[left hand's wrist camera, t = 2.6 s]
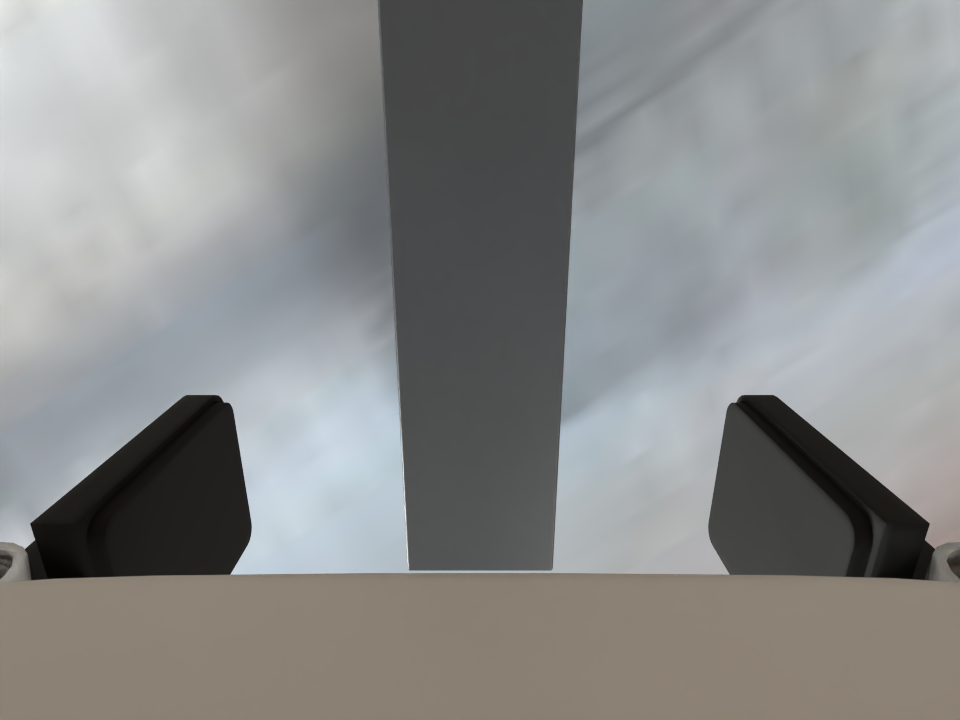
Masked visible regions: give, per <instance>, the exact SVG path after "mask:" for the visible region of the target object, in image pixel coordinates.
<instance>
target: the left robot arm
mask: <svg viewBox="0 0 960 720" xmlns="http://www.w3.org/2000/svg"><path fill="white" fill-rule="evenodd" d="M30 525H31V528H32V531H33V534H34V537H35V541H34V542H33V543H31V544H30V545H29V546H28V547H27V548H26V549H24V548H23V547H22V546H19V545H17V544H14V543H6V542H0V720H960V542H954V543H946V544H943V545H941V546H938V547H937V548H936V549H934V548H933V547H932V546H931V545H930V544H929V543H927V542H926V541H925V537H926V534H927V531H928V528H929V525H930V524H929V523H928V522H927V521H926V520H925V519H923V518H922V517H921V516H920V515H919V514H917V513H916V512H915V511H914V510H913V509H911V508H910V507H909V506H908V505H907V504H905V503H904V502H903V501H902V500H901V499H899V498H898V497H897V496H896V495H894V494H893V493H892V492H891V491H890V490H888V489H887V488H886V487H885V486H884V485H882V484H881V483H880V482H879V481H878V480H876V479H875V478H874V477H873V476H872V475H870V474H869V473H868V472H867V471H866V470H864V469H863V468H862V467H861V466H860V465H858V464H857V463H856V462H855V461H853V460H852V459H851V458H850V457H849V456H847V455H846V454H845V453H844V452H843V451H841V450H840V449H839V448H838V447H837V446H835V445H834V444H833V443H832V442H831V441H829V440H828V439H827V438H826V437H825V436H823V435H822V434H821V433H820V432H819V431H817V430H816V429H815V428H814V427H812V426H811V425H810V424H809V423H808V422H806V421H805V420H804V419H803V418H802V417H800V416H799V415H798V414H797V413H796V412H794V411H793V410H792V409H791V408H790V407H788V406H787V405H786V404H785V403H784V402H782V401H781V400H780V399H779V398H778V397H776V396H774V395H742V396H741V397H739V399H738V400H737V402H736V403H731V404H730V405H729V406H728V409H727V413H726V419H725V425H724V431H723V437H722V444H721V450H720V456H719V462H718V468H717V475H716V481H715V487H714V493H713V499H712V505H711V512H710V518H709V526H708V529H709V537H710V540H711V543H712V545H713V547H714V548H715V550H716V552H717V554H718V555H719V557H720V559H721V560H722V562H723V564H724V565H725V567H726V569H727V571H728V572H729V574H730V575H702V574H587V573H349V574H258V575H230V574H231V572H232V571H233V569H234V567H235V565H236V564H237V562H238V560H239V559H240V557H241V555H242V554H243V552H244V550H245V548H246V547H247V545H248V543H249V540H250V537H251V529H252V526H251V518H250V512H249V505H248V499H247V493H246V487H245V481H244V475H243V468H242V462H241V456H240V450H239V444H238V437H237V431H236V425H235V419H234V413H233V409H232V406H231V405H230V404H229V403H224V402H223V400H222V399H221V397H219V396H218V395H186V396H184V397H182V398H181V399H180V400H179V401H178V402H176V403H175V404H174V405H173V406H172V407H170V408H169V409H168V410H167V411H166V412H164V413H163V414H162V415H161V416H160V417H158V418H157V419H156V420H155V421H154V422H152V423H151V424H150V425H149V426H148V427H146V428H145V429H144V430H143V431H141V432H140V433H139V434H138V435H137V436H135V437H134V438H133V439H132V440H131V441H129V442H128V443H127V444H126V445H125V446H123V447H122V448H121V449H120V450H119V451H117V452H116V453H115V454H114V455H113V456H111V457H110V458H109V459H108V460H107V461H105V462H104V463H103V464H102V465H100V466H99V467H98V468H97V469H96V470H94V471H93V472H92V473H91V474H90V475H88V476H87V477H86V478H85V479H84V480H82V481H81V482H80V483H79V484H78V485H76V486H75V487H74V488H73V489H72V490H70V491H69V492H68V493H67V494H66V495H64V496H63V497H62V498H61V499H59V500H58V501H57V502H56V503H55V504H53V505H52V506H51V507H50V508H49V509H47V510H46V511H45V512H44V513H43V514H41V515H40V516H39V517H38V518H37V519H35V520H34V521H33V522H32V523H31V524H30Z"/></svg>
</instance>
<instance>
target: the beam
mask: <svg viewBox="0 0 960 720" xmlns="http://www.w3.org/2000/svg"><path fill="white" fill-rule="evenodd" d="M582 5H583V0H378V15H379V34H380V53H381V72H382V91H383V110H384V129H385V148H386V167H387V186H388V204H389V223H390V242H391V261H392V280H393V299H394V318H395V337H396V356H397V375H398V394H399V413H400V432H401V451H402V469H403V488H404V507H405V526H406V545H407V564H408V570H552V568H553V552H554V533H555V514H556V495H557V477H558V458H559V439H560V420H561V401H562V382H563V363H564V345H565V326H566V307H567V288H568V269H569V250H570V232H571V213H572V194H573V175H574V156H575V137H576V118H577V100H578V81H579V62H580V43H581V24H582Z"/></svg>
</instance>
